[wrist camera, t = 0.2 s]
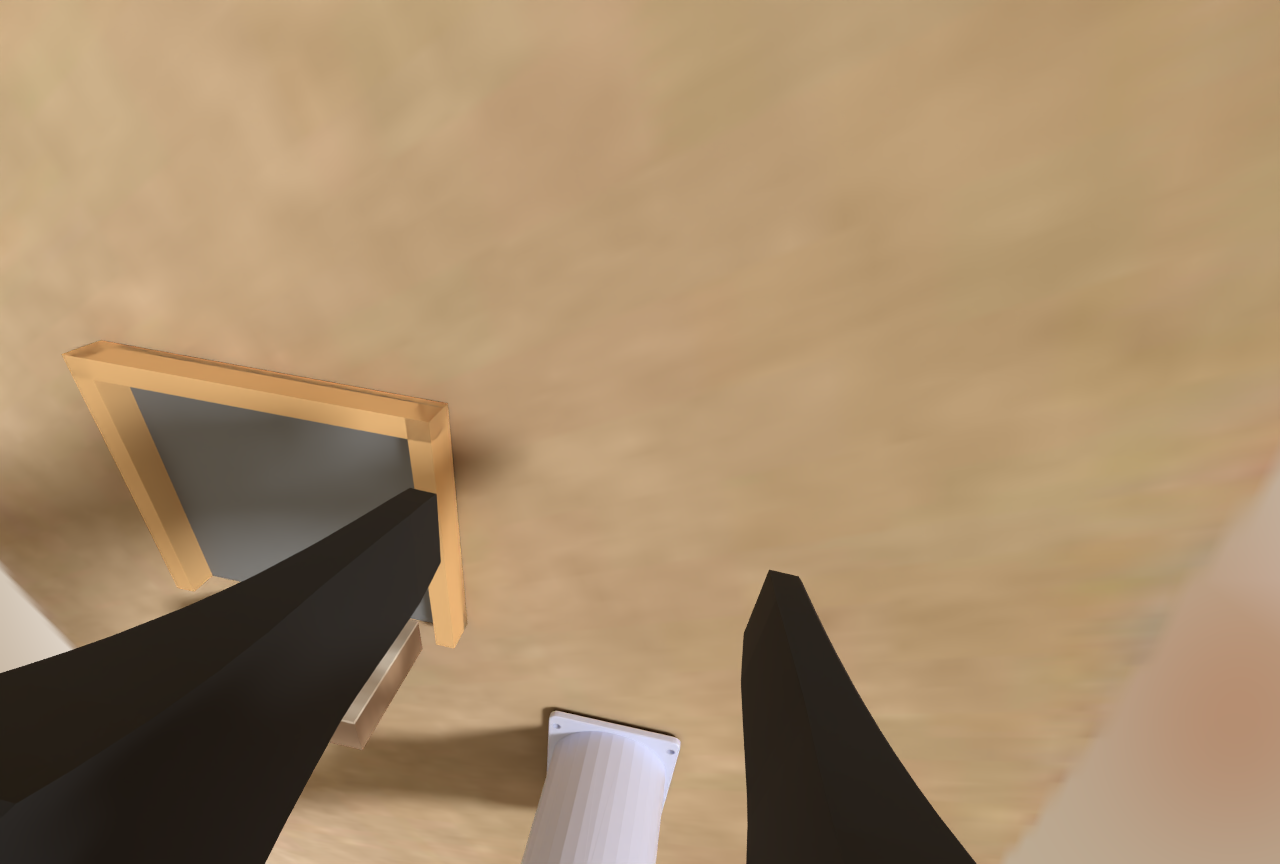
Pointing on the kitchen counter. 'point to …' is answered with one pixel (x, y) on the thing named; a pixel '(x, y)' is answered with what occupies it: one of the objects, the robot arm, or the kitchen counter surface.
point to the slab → (379, 689)
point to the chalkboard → (266, 463)
